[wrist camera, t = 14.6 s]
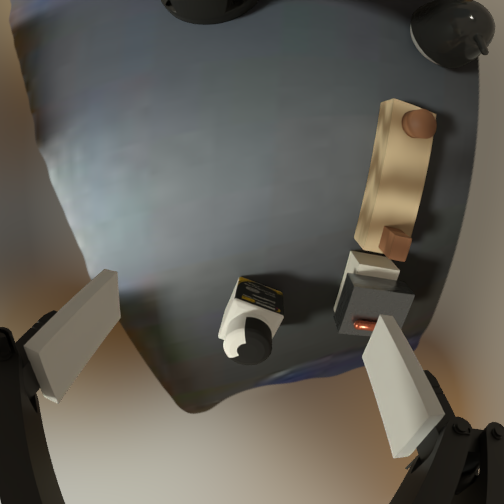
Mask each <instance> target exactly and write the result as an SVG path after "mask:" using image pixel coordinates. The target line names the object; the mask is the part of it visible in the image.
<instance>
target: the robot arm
mask: <svg viewBox="0 0 504 504" xmlns="http://www.w3.org/2000/svg"><path fill="white" fill-rule="evenodd" d="M258 1H259V0H161V2H162V3H163V5H164V6H165V7H166V9H167V10H168V11H169V12H170V13H171V14H172V15H173V16H175V17H176V18H178V19H180V20H182V21H185V22H188V23H193V24H216V23H221V22H225V21H228V20H231V19H234V18H236V17H238V16H240V15H242V14H244V13H245V12H247V11H248V10H250V9H251V8H252V7H253V6H254V5H255V4H256V3H257V2H258ZM120 318H121V316H120V305H119V292H118V276H117V272H116V271H111V270H107V269H104V270H103V271H102V272H101V273H99V274H98V275H97V276H96V277H95V278H94V279H93V280H91V281H90V282H89V283H88V284H87V285H86V286H85V287H84V288H83V289H82V290H80V291H79V292H78V293H77V294H76V295H75V296H74V297H73V298H72V299H71V300H70V301H69V302H68V303H66V304H65V305H64V306H63V307H62V308H61V309H60V310H59V311H58V312H57V311H51V312H49V313H47V314H45V315H44V316H43V317H42V318H41V319H39V320H38V322H37V323H35V324H34V325H33V326H32V328H30V329H29V330H28V331H27V332H26V333H25V334H24V335H23V336H22V337H21V338H20V339H19V340H18V341H17V342H16V343H15V341H14V338H13V335H12V332H11V331H10V330H9V329H7V328H5V327H0V500H1V504H65V502H64V500H63V497H62V494H61V491H60V488H59V485H58V482H57V479H56V476H55V473H54V469H53V465H52V462H51V459H50V454H49V451H48V447H47V442H46V438H45V434H44V429H43V424H42V419H41V413H40V407H39V401H38V397H37V394H36V392H37V391H38V390H39V388H41V391H42V393H43V395H44V397H45V398H47V399H49V400H51V401H53V402H55V403H57V404H59V403H60V401H61V400H62V398H63V396H64V395H65V394H66V392H67V391H68V389H69V388H70V386H71V385H72V383H73V382H74V381H75V379H76V378H77V376H78V375H79V373H80V372H81V370H82V369H83V368H84V366H85V365H86V364H87V362H88V361H89V359H90V358H91V356H92V355H93V354H94V352H95V351H96V350H97V348H98V347H99V346H100V344H101V343H102V341H103V340H104V339H105V337H106V336H107V335H108V333H109V332H110V331H111V330H112V328H113V327H114V326H115V324H116V323H117V322H118V320H119V319H120ZM362 358H363V361H364V364H365V367H366V370H367V373H368V376H369V378H370V382H371V385H372V388H373V391H374V394H375V397H376V400H377V404H378V407H379V410H380V413H381V417H382V420H383V423H384V427H385V430H386V433H387V437H388V441H389V444H390V448H391V452H392V455H393V458H399V457H407V456H410V454H411V453H412V452H413V451H414V450H415V449H416V448H417V451H418V454H419V455H418V456H417V457H416V458H415V459H414V460H413V461H412V462H411V463H410V464H409V465H408V466H407V467H406V468H405V469H408V468H409V467H410V466H411V467H410V469H409V471H408V473H407V474H406V476H405V478H404V480H403V482H402V483H401V485H400V487H399V489H398V490H397V492H396V494H395V495H394V497H393V499H392V500H391V502H390V503H389V504H504V427H503V426H502V425H501V424H499V423H496V422H492V423H489V424H488V425H487V427H486V428H485V429H484V430H479V429H472V427H471V425H470V424H469V422H468V421H466V420H465V419H463V418H461V417H455V415H454V413H453V410H452V408H451V406H450V404H449V403H448V401H447V399H446V397H445V395H444V394H443V391H442V389H441V388H440V385H439V383H438V381H437V379H436V378H435V377H434V376H433V375H432V374H431V373H430V372H429V371H428V370H423V369H422V367H421V365H420V363H419V362H418V360H417V358H416V356H415V354H414V352H413V350H412V349H411V347H410V345H409V343H408V341H407V340H406V338H405V336H404V334H403V332H402V331H401V329H400V327H399V326H398V324H397V322H396V320H395V319H394V317H393V316H390V315H380V316H379V318H378V321H377V323H376V326H375V328H374V330H373V333H372V335H371V337H370V340H369V342H368V344H367V347H366V349H365V351H364V353H363V356H362ZM479 468H480V472H479V475H478V469H479Z"/></svg>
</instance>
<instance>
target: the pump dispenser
mask: <svg viewBox="0 0 504 504" xmlns="http://www.w3.org/2000/svg"><path fill="white" fill-rule="evenodd" d="M410 32H411V37H412V40H413V42H414V44H415V46H416V48H417V49H418V50H419V52H420V53H421V54H422V55H423V56H424V57H426V58H427V59H428V60H430V61H431V62H433V63H435V64H438V65H441V66H444V67H447V68H458V67H461V66H464V65H466V64H468V63H469V62H471V61H473V60H474V59H476V58H477V57H478V56H479V55H480V54H481V53H482V54H483V55H487V54H488V49H487V47H488V45H489V44H490V42H491V41H492V38H493V36H494V33H495V23H494V19H493V17H492V15H491V14H490V12H489V11H488V10H487V9H486V8H485V7H484V6H483V5H481V4H480V3H478V2H476V1H473V0H435V1H432V2H430V3H427V4H425V5H423V6H421V7H420V8H418V9H417V10H416V11H415V12H414V13H413V15H412V18H411V25H410Z"/></svg>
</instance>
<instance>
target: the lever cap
mask: <svg viewBox="0 0 504 504" xmlns="http://www.w3.org/2000/svg"><path fill="white" fill-rule="evenodd" d="M414 297H415V294H414V293H413V292H412V291H411V289H410V288H409V287H408V286H407V284H406V283H405V282H404V281H397V280H391V279H384V278H378V277H372V276H365V275H359V274H353V273H347V275H346V279H345V282H344V285H343V289H342V292H341V295H340V298H339V301H338V305H337V308H336V311H335V314H334V320H335V323H336V327H337V330H338V333H342V334H351V335H362V336H371V335H372V333H373V330H374V328H375V326H376V323H377V321H378V318H379V316H380V315H390V316H393V317H394V319H395V320H396V322H397V324H398V326H399V327H400V329H401V328H402V325H403V323H404V321H405V318H406V316H407V314H408V311H409V309H410V307H411V304H412V302H413V299H414Z"/></svg>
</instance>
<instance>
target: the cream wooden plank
mask: <svg viewBox="0 0 504 504" xmlns="http://www.w3.org/2000/svg"><path fill="white" fill-rule="evenodd" d="M436 129H437V123H436V114H435V113H432V112H430V111H428V110H426V109H422V108H419V107H417V106H414V105H411V104H409V103H406V102H403V101H400V100H397V99H391V100H388V101H384V102H381V105H380V112H379V118H378V125H377V131H376V137H375V143H374V148H373V154H372V159H371V164H370V169H369V174H368V179H367V184H366V189H365V193H364V198H363V202H362V207H361V211H360V215H359V219H358V223H357V227H356V231H355V235H354V239H355V240H356V241H357V242H358V244H359V245H360V246H361V248H362V249H363V250H367V251H372V252H378V253H383V254H385V256H386V257H387V258H388V259H391V260H397V261H402V262H405V260H406V257H407V254H408V251H409V248H410V245H411V241H412V238H411V234H412V231H413V227H414V224H415V220H416V216H417V212H418V208H419V204H420V200H421V196H422V192H423V188H424V183H425V178H426V174H427V169H428V164H429V158H430V153H431V147H432V141H433V135H434V134H435V132H436Z"/></svg>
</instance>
